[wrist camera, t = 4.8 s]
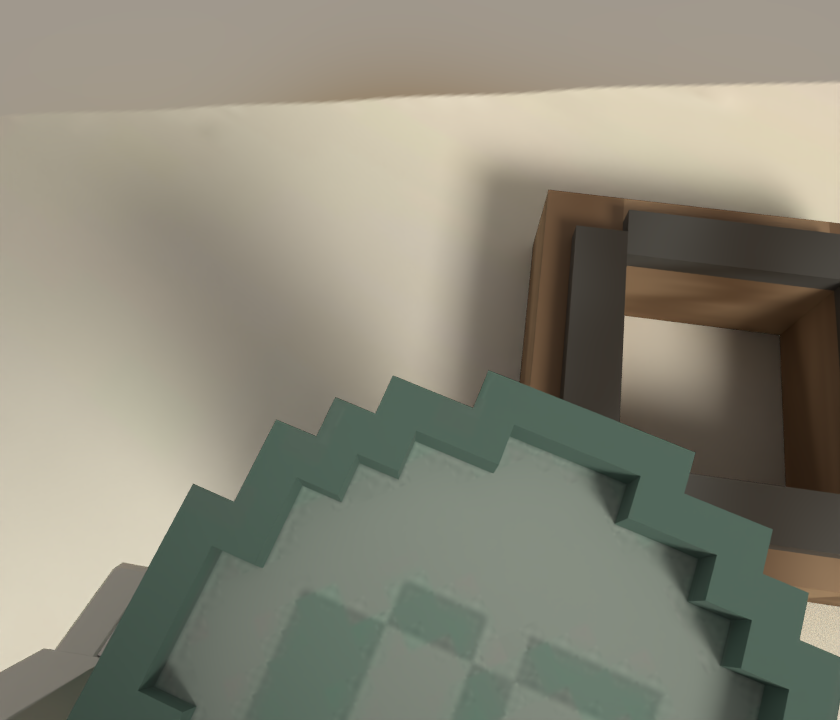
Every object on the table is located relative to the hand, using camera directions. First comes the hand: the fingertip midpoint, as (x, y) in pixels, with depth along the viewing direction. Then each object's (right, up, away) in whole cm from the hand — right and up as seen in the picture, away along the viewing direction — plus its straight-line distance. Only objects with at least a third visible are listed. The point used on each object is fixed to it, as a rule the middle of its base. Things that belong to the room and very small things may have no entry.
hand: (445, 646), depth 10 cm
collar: (+10, +2, +17) cm, 20 cm away
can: (0, -4, +10) cm, 11 cm away
